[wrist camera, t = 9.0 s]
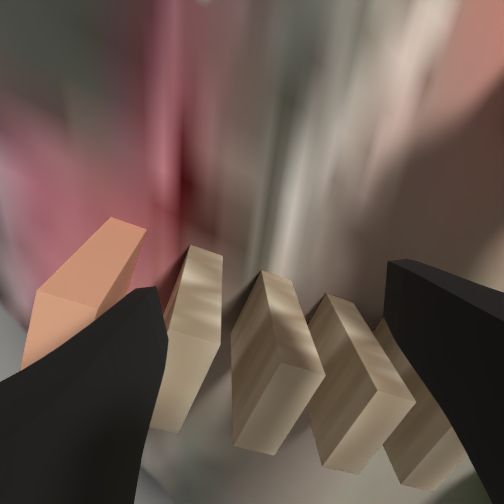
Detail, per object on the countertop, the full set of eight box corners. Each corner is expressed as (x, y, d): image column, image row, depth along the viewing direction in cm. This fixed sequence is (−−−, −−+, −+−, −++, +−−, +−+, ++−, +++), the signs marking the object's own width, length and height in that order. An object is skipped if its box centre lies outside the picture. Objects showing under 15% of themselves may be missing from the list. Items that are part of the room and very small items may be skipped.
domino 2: (222, 256, 20) (220, 344, 13) (194, 322, 22) (177, 433, 14) (190, 244, 20) (168, 329, 12) (163, 313, 21) (131, 423, 14)
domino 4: (353, 302, 22) (416, 402, 15) (317, 359, 24) (358, 474, 16) (325, 293, 22) (377, 390, 14) (291, 352, 23) (322, 466, 16)
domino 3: (290, 280, 21) (325, 375, 14) (258, 342, 23) (274, 455, 15) (261, 270, 21) (280, 362, 13) (230, 333, 22) (233, 446, 15)
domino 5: (409, 322, 23) (495, 425, 16) (371, 376, 25) (432, 491, 17) (385, 314, 22) (461, 415, 15) (348, 369, 24) (400, 484, 17)
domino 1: (146, 229, 19) (98, 308, 12) (123, 301, 21) (68, 409, 13) (110, 216, 19) (36, 290, 11) (90, 291, 20) (14, 396, 13)
